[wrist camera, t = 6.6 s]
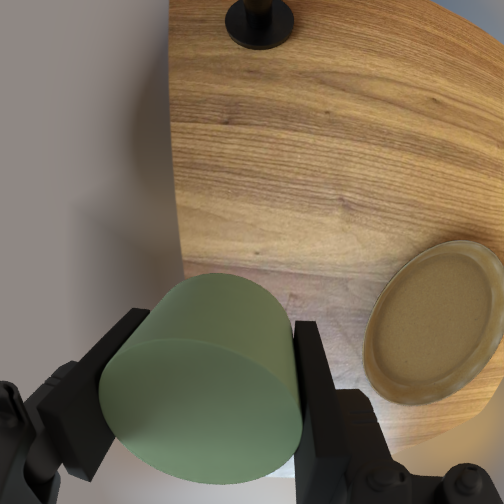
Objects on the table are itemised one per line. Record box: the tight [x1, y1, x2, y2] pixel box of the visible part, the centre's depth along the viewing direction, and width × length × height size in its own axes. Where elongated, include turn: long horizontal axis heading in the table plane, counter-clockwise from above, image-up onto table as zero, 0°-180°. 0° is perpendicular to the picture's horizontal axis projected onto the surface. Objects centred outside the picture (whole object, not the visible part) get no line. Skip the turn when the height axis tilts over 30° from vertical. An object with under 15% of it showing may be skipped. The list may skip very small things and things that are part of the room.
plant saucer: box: [362, 240, 504, 406], centre depth 35 cm, size 24×24×3 cm
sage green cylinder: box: [99, 273, 304, 485], centre depth 10 cm, size 6×6×5 cm
